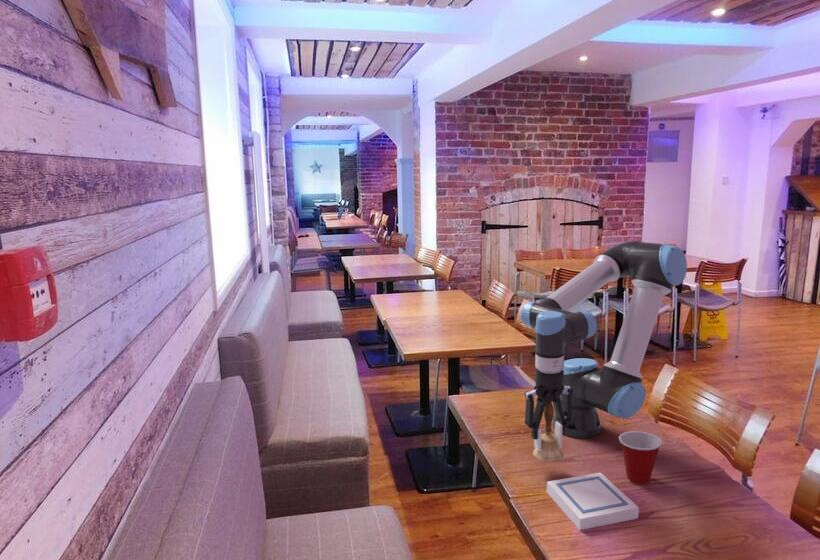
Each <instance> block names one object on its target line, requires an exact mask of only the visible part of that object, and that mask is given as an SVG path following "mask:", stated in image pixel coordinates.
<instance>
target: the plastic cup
mask: <svg viewBox="0 0 820 560" xmlns="http://www.w3.org/2000/svg"><path fill="white" fill-rule="evenodd" d="M618 440H619V441H620V443H621V446H622V451H623V460H624V461H623V462H624V466H625V473H626V477H627V479H628V480H629V481H630V482H632V483H633V484H635V485H636V484H637V485H646V484H648V483H650V480H651V476H652V473H653V471H654V467H655V463H656V461H657V456H658V453H659V449H660V448H661V446H662V445H663V444H662V443H663V440H662V439H661V438H660V437H658V436H657V435H655V434H653V433H650V432H645V431H639V430H638V431H636V430H635V431H634V430H631V431H626V432H625V431H624V432H623V433H621V434H620V435H619V436H618Z"/></svg>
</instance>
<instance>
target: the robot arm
mask: <svg viewBox="0 0 820 560" xmlns="http://www.w3.org/2000/svg"><path fill="white" fill-rule="evenodd" d="M687 269H688V262H687V258H686V255H685V253H684V251H683V250H682V249H681V248H680V247H679V246H677V245H676V246H675V245H671V244H667V243H656V242H645V241H639V240H638V241H637V240H631V241H626V242H622V243H620V244H617V245H614V246H612V247H610V248H608V249H607V250H604V251H602V253H600V254H598V255H597V256H596V257H595V258H594V260H593V263H592V264H590V265H589V266H588V267H586V268H585V269H583V270H582V271H580V272H579V273H578V274H576V275H575V276H574V277H573V278H571V279H570V280H568V281H567V282H566V283H564V284H563V285H562V286H559V288H557V289H556V290H555V291H553V292H552V293H551V294H549V295H547V296H546V297H545V298H544V299H542V300H541V301H539V302H536V301H533V302H532V301H529V302H525V304H524V305H523V306H522V308H521V311H520V320H521V323H523V325H525V326H527V327H529V328H532V329H533V330H535V358H534V359H535V361H534V362H535V364H534V366H535V369H534V374H535V375H534V382H535V385H534V388H533V389H532V390H531V391H524V396H525V413H524V414H525V415H524V416H525V417H524V424H525V425H526V426H527V428H529V429H531V438H532V439H533V447H534V449H535V448H536V449H537V450H538V451H541V435H542V428H541V427H540V425H541V422H542V418H543V416H544V409H545V407H546V406H547V403H548V402H552V406H553V409H554V415H553V419H552V428H553V429H554V435H555V436H556V439H557V445H558V448H559V449H560V448H562V447H563V436H567V437H571V438H577V439H584V438H585V439H589V438H593V437H596V436H598V435H599V434H600V432H601V426H602V425H601V424H602V423H601V420H600V417H599V414H598V410H597V409H599V410H601V411H603V412H606V413H608V414H609V415H611V416H614V417H617V418H621V419H629V418H632V417H634V416H635V415H636V414H637V413H638V412H639V411H640V410H641V409H642V407H643V405H644V404H645V402H646V401H645V400H646V396H647V393H646V392H647V390H646V387H645V385H643V376H642V374H641V367H642V364H643V362H644V358H645V355H646V351H647V348H648V346H649V342H650V341H651V340H650V339H651V338H652V337H651V336H652V333H653V330H654V327H655V325H656V321H657V319H658V316H659V312H660V308H661V307H662V306H661V305H662V303H663V300H664V296H666V295H668V294H670V293H672V290H673V287H674V286H679V285H681V284H682V282H684V280H685V279H686V275H687ZM620 278H631V281H630V282H631V283H632V285H633V291H632V294H631V298H630V300H629V303H628V306H627V309H626V313H625V315H624V318H623V322H622V325H621V328H620V330H619V332H618V333H619V334H618V336H617V340H616V342H615V346H614V349H613V352H612V355H611V357H610V360H609V361H608V362H606V363H603V365H602V369H600V368H599V367H600V364H599V362H598V361H597V360H596V359H592V358H583V357H581V358H580V357H579V358H577V357H576V358H570V359H566V360H565V348H566V347H565V346H566V345H569V344H571V343H577V342H579V341H583V340H586V339H588V338H590V337H593V336H594V335H595V334H596V332H597V330H598V322H597V319H596V318H595V316H594V315H593V314H592V313H591V312H590V311H587V310H583V311H582V310H580V311H577V312H572V310H573V309H575V308H576V307H578V306H579V305H580V304H581V303H583V302H584V301H585V300H587V299H588V298H590V297H591V296H592V295H594V294H595V293H596V292H597V291H598V290H600V289H601V288H603V287H604V286H605V285H607V284H608V283H611V282H616V281H617V280H619V279H620ZM536 396H537V398H536ZM535 400H536V404H535Z"/></svg>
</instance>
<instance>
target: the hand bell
mask: <svg viewBox="0 0 820 560" xmlns="http://www.w3.org/2000/svg"><path fill="white" fill-rule="evenodd" d="M554 415H555V409H554V405H553V402H548V403H547V406H546V407H545V409H544V412H543V416H544V420H545V427H544V431H545V432H544V433H541V451H538V450H537V449H536V448H535V447H534V449H533V451H532V454H533V457H534V458H536V460H539V461H542V462H544V463H545V462H546V463H555V462H559V461H561V460H562V459H563V458H564V453H563V450H561V449H560V448H559V447H558V445H557V439H556V436H555V434H553V433H552V424H553V416H554Z"/></svg>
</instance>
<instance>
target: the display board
mask: <svg viewBox="0 0 820 560" xmlns="http://www.w3.org/2000/svg"><path fill="white" fill-rule="evenodd" d="M546 493H547V494H548V495H549V496H550V497H551V499H552V500H553V501H554V503H555V504H556V505H557V506H558V507H559V508H560V510H561V511H562V512H563V513H564V514H565V515H566V516H567V517H568V518H569V520H570V521H571V522H572V524H574V525H575V527H576V528H577V529H578V530H579V531H583V530H587V529H592V528H598V527H603V526H609V525H613V524H618V523H623V522H627V521H633V520H636V519H638V520H639V514H640V513H639V511H640V508H639V506H638V505H637V504H635V503H634V501H633V500H631V499H630V498H629V497H628V496H627V495H626V494H625V493H623V492H622V490H620V489H619V488H618V487H617V486H616V485H614V483H613V482H612V481H610V480H609V479H608V478H607V477H606V476H605V475H604V474H603V473H601V472H595V473H590V474H584V475H578V476H572V477H567V478H561V479H560V478H559V479H554V480H549V481H547V482H546Z"/></svg>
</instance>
